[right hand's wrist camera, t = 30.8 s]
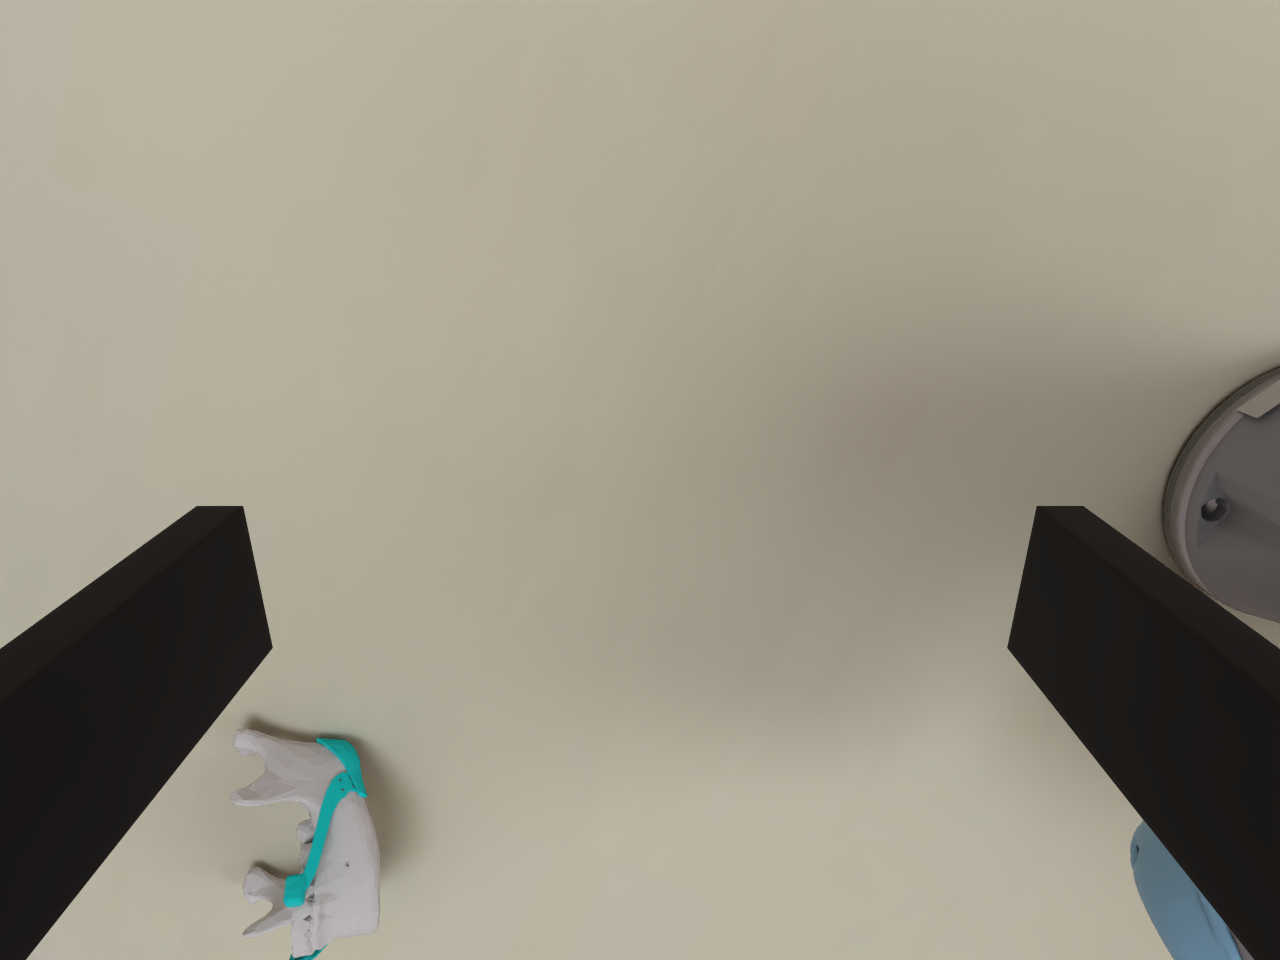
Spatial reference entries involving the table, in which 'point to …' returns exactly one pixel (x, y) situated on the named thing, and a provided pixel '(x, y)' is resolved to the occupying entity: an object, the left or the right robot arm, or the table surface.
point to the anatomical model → (315, 842)
